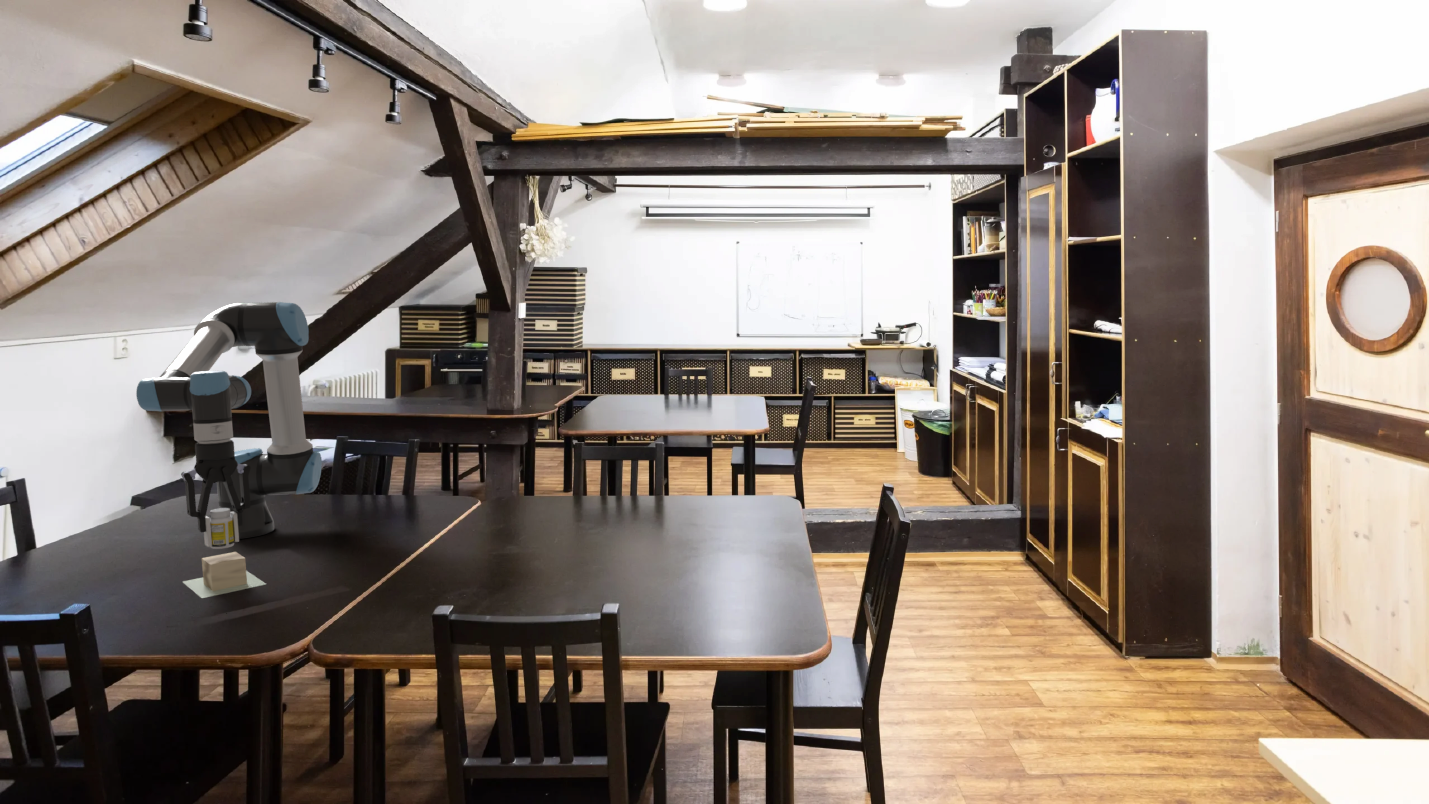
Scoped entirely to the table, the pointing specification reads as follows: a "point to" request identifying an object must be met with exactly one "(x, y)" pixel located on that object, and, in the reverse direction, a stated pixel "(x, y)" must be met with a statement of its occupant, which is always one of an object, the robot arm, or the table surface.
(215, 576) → the beech block
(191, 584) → the board
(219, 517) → the supplement bottle
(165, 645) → the table surface
